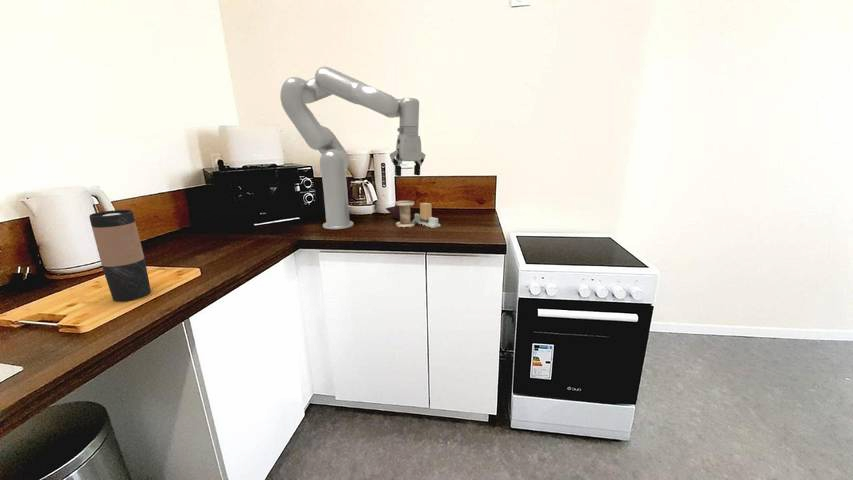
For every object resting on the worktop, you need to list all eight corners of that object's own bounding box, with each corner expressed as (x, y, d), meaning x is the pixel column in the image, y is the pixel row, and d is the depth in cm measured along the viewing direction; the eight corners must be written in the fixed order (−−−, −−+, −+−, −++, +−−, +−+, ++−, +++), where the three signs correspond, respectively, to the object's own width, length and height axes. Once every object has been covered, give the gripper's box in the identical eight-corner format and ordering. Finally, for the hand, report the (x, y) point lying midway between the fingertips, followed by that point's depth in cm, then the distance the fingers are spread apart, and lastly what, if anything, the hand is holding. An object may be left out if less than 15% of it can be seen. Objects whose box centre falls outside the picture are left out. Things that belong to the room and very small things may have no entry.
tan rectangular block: (420, 221, 153) (419, 203, 151) (425, 220, 155) (425, 202, 153) (426, 223, 150) (426, 204, 148) (431, 222, 152) (431, 203, 150)
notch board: (412, 222, 157) (412, 214, 156) (419, 220, 159) (419, 213, 158) (433, 227, 146) (433, 219, 145) (440, 226, 149) (440, 218, 148)
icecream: (379, 204, 163) (403, 211, 155) (390, 198, 168) (414, 204, 159) (381, 218, 167) (405, 225, 158) (392, 211, 172) (415, 218, 163)
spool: (392, 225, 151) (391, 202, 149) (407, 222, 156) (406, 199, 153) (403, 228, 145) (402, 204, 143) (418, 225, 150) (418, 202, 148)
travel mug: (159, 288, 89) (141, 209, 83) (136, 302, 81) (115, 216, 76) (128, 289, 88) (107, 209, 83) (102, 302, 81) (78, 216, 76)
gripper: (396, 130, 132) (395, 177, 137) (431, 132, 143) (429, 175, 148) (385, 130, 138) (384, 175, 142) (419, 132, 149) (418, 174, 153)
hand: (407, 175), depth 145 cm, fingers open, 9 cm apart
